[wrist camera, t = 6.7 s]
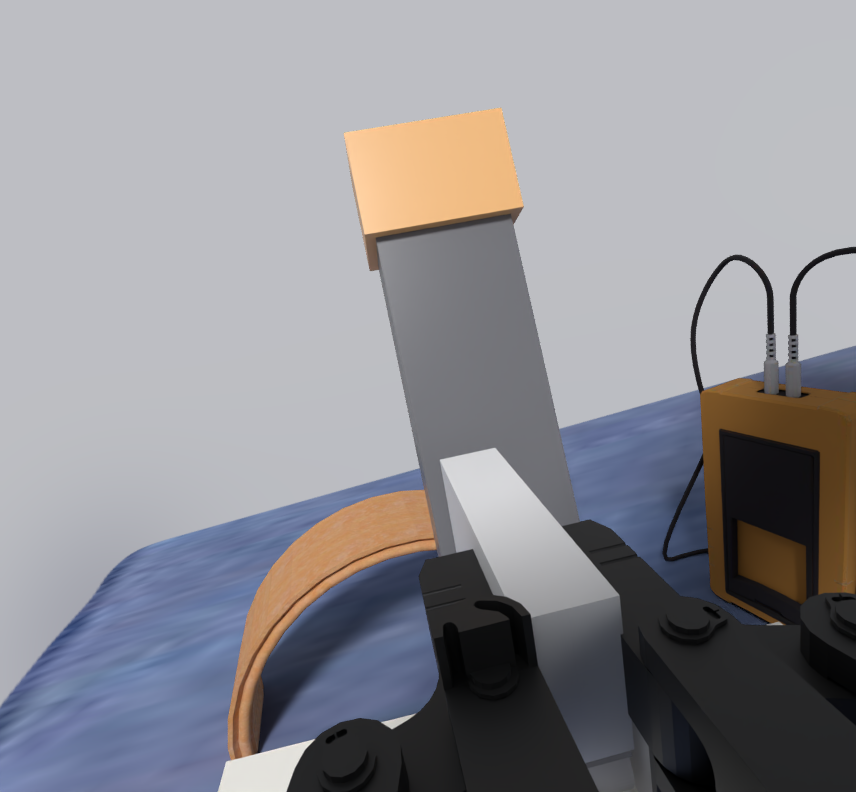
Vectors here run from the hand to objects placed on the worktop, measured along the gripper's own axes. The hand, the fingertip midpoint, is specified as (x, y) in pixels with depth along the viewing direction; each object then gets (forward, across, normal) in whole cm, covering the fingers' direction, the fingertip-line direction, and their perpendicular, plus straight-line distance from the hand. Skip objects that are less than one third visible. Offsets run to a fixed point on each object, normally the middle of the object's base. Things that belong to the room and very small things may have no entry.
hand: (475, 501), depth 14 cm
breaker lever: (-1, +1, -8) cm, 8 cm away
